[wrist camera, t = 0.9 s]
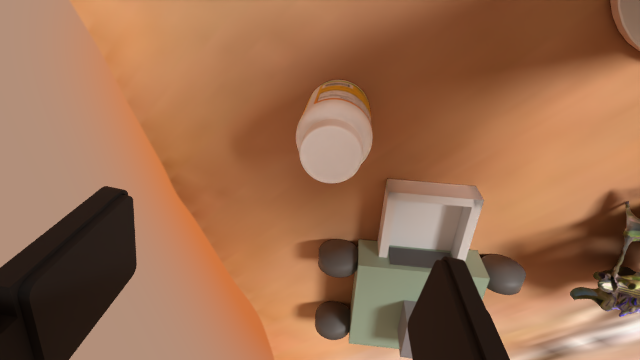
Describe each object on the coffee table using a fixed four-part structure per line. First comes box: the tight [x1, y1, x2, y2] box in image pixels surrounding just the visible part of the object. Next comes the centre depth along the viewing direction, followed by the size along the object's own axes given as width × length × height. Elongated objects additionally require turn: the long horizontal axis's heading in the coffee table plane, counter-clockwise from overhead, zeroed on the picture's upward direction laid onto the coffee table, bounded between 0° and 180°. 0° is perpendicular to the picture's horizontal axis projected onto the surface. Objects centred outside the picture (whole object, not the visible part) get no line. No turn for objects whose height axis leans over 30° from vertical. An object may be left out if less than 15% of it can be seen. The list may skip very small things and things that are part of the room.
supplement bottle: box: [296, 80, 373, 183], centre depth 27 cm, size 5×5×10 cm
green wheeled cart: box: [315, 179, 526, 358], centre depth 34 cm, size 20×18×7 cm
